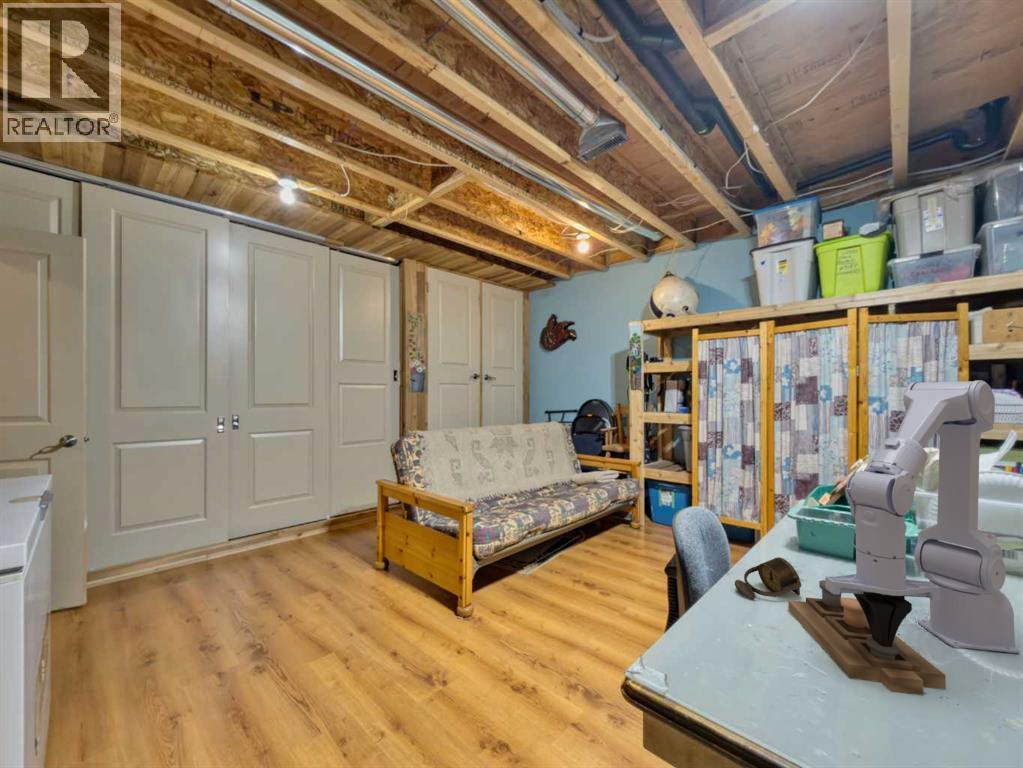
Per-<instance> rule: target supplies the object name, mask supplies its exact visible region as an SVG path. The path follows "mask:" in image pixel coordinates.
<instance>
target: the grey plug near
mask: <svg viewBox="0 0 1023 768" xmlns="http://www.w3.org/2000/svg"><path fill="white" fill-rule="evenodd" d="M867 646H868V647H869V648H870V653H871V654H872V655H873V656H874V657H875V658H882V659H891V660H895V655H898V646H897V645H896V644H895V643H893V644H892V647H883V646H881V645H879V644H878V643H877V642H876V641H874V640H873V639H872V636H869V637H867Z"/></svg>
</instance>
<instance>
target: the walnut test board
mask: <svg viewBox="0 0 1023 768" xmlns="http://www.w3.org/2000/svg"><path fill="white" fill-rule="evenodd" d="M787 601H788V605H787V606H788V612H789V613H790V614H791V615H792V617H793V618H795V620H796V621H797V622H798V623H799V624H800V625H801V627H803V629H804V630H805V631H806V632H807V633H808V634H809V635H810V636H811V637H812V639H813V641H815V642H816V643H817V644H818V645H819V647H821V648H822V649H823V650H824V652H825V654H827V656H829V658H830V659H832V661H833V662H834V663H835V664H836V665H837V667H838V668H840V670H841V671H842V672H843V673H844V674H845V675H846V676H847V678H848V679H853V680H854V679H855V680H863V681H873V682H880V683H881V684H883V686H885V688H886V689H888V691H889V692H894V693H903V694H910V695H911V694H912V695H918V696H919V695H920V696H924V688H932V689H940V690H947V684H946V683H947V682H946V679H947V678H946V677H947V675H946V673H943V671H941V670H940V669H939V668H937V667H936V666H935V665H934V664H932V662H930V661H929V660H927V659H926V658H925V657H924V656H922V655H921V654H920V653H919V652H918V651H916V650H915V649H914V648H913V647H911V646H910V645H908V644H907V643H906V642H905V641H903V640H902V639H901V638H900V637H898V636H897V634H896V635H895V638H894V641H893V643H895V644H896V645H897V646H898V655H895V660H891V659H882V658H875V657H874V656H873V655H872V654H871V653H870V648H869V647H868V646H867V637H869V636H872V635H871V631H870V628H869V624H868V622H867V619H866V616H865V627H864V628H858V627H854V626H851V625H848V624H847V623H845V622H844V607H842V606H841V607H833V606H829V605H826V604H824V603H823V602H822V598H818V597H817V598H816V597H805V601H803V600H802V601H801V600H791V599H790V600H787Z"/></svg>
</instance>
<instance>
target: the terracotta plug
mask: <svg viewBox="0 0 1023 768" xmlns="http://www.w3.org/2000/svg"><path fill="white" fill-rule="evenodd" d="M841 606H842V607H844V622H845V623H847V624H848V625H851V626H854V627H858V628H864V627H865V614H864V612H863V610H862V608H861V606H860V604H859V602H858V601H857V599H856V598H852V597H841Z"/></svg>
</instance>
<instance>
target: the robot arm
mask: <svg viewBox="0 0 1023 768" xmlns="http://www.w3.org/2000/svg"><path fill="white" fill-rule="evenodd" d="M995 403H996V398H995V394H994V393H993V390H992V388H991V386H990V385H989V384H988V383H987V382H986V381H984V380H981V379H979V380H976V379H975V380H974V381H972V380H971V381H967V380H965V381H933V382H932V381H931V382H919V381H912V382H910V383H909V384H908V385H907V386H906V388H905V389H904V393H903V406H904V409H905V412H906V413H905V415H904V417H903V419H902V421H901V424H900V426H899V429H898V431H897V432H896V435H895V437H889V438H885V439H884V440H883V441H882V442H881V443H880V444H879V447H878V448H877V450H876V451H875V453H874V454H873V456H872V457H871V459H870V460H869V462H868V463H867V465H866V467H865V468H864V469H863V470H860V471H857V472H854V473H851V475H850V476H849V477H848V479H847V483H846V488H845V489H844V490H845V497H846V499H847V502H848V504H849V506H850V515H851V517H853V518H854V522H855V528H854V529H855V562H856V563H855V564H856V566H855V567H856V568H855V569H856V571H855V572H856V573H855V574H854V573H852V574H845V575H835V576H834V575H832V576H831V575H830V576H829V575H826V576H825V578H824V580H825V588H826V589H827V590H828V591H830V592H831V593H833V594H840V593H841V594H852V595H854V597H855V599H857V601H858V602H859V604H860V606H861V608H862V610H863V612H864V614H865V616H866V619H867V622H868V624H869V628H870V631H871V635H872V639H873V640H874V641H876V642H877V643H878V644H879V645H881V646H883V647H892V644H893V641H894V638H895V635H896V636H897V632H898V630H899V627H900V626H901V624H902V623H903V621H904V619H905V618H906V617H907V616H908V615H909V614H910V613H911V612H912V610H913V605H912V603H911V601H908V600H906V599H905V597H913V598H926V599H927V598H928V599H929V612H930V613H929V620H928V619H916V623H917V624H919V625H920V626H921V627H923V628H924V629H926V630H928V631H929V632H930V633H932V634H933V635H935V636H936V637H938V638H939V639H940V640H942V641H943V642H945V643H946V644H947V645H949V646H952V647H953V648H962V649H964V648H965V649H972V650H973V649H974V650H984V651H993V652H994V651H995V652H1005V653H1015V654H1019V653H1020V651H1021V650H1020V649H1018V648H1017V647H1016V646H1015V644H1016V643H1015V640H1016V639H1015V615H1014V612H1015V611H1014V609H1013V606H1012V605H1013V604H1012V603H1011V601H1010V599H1009V598H1008V597H1007V595H1006V594H1005V593H1004V592H1002V591H1001V590H1002V588H1003V586H1004V585H1005V581H1006V577H1007V576H1006V572H1007V571H1006V566H1005V562H1004V559H1003V550H1002V546H1001V545H999V543H996V542H995V541H994V540H993V539H991V538H990V537H988V536H987V535H986V534H984V533H983V532H982V531H981V530H979V528H978V526H979V525H978V524H979V488H980V487H979V486H980V485H979V482H980V446H981V445H980V443H981V437H982V433H986V432H989V431H992V430H993V429H994V424H995V418H996V417H995V414H996V413H995V412H996V411H995V410H996V409H995V408H996V406H995V405H996V404H995ZM935 434H938V436H939V449H938V450H939V451H938V479H937V480H938V483H937V514H936V518H937V519H936V524H933V525H930V526H928V527H925V528H923V529H921V530H920V531H919V533H918V536H917V537H918V538H917V543H916V545H915V547H914V552H913V553H914V554H913V555H914V556H913V559H914V563H915V565H916V566H917V568H918V570H919V571H920V572H921V573H923V575H924V579H927V580H928V581H927V580H925V581H922V580H916V579H908V578H907V559H906V558H907V557H906V556H907V555H906V527H905V526H906V525H905V524H906V522H905V521H906V520H905V517H906V516H905V515H907V514H909V512H910V511H911V510H912V508H913V504H914V499H915V492H916V490H917V489H916V488H917V485H916V483H915V481H916V479H917V478H918V476H919V475H920V473H921V471H922V469H923V467H924V465H925V464H926V462H927V460H928V453H927V451H926V450H925V447H926V445H927V444H928V443H929V441H930V440H931V439H932V438H933V437H934V435H935Z"/></svg>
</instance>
